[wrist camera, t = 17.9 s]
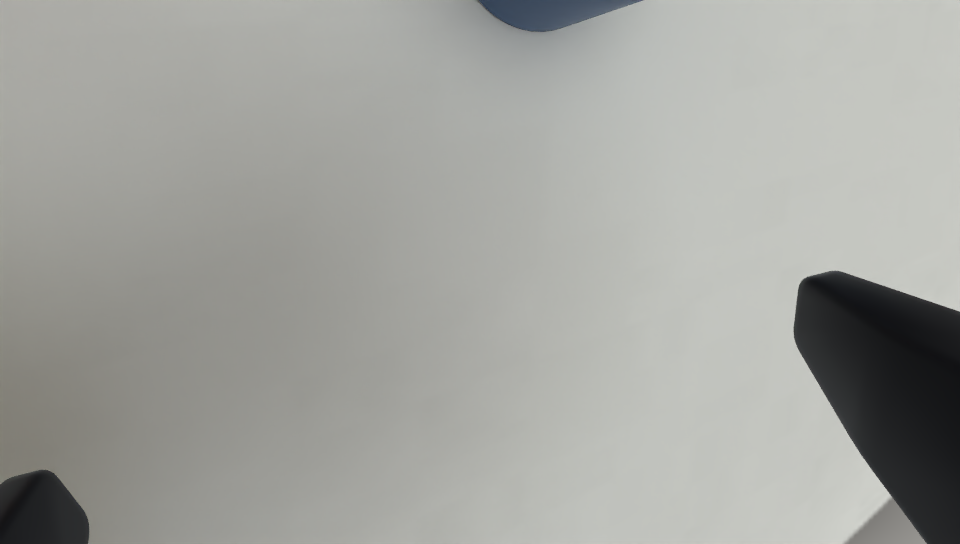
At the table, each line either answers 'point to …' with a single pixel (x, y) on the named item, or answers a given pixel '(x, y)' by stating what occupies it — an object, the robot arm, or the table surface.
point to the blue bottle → (550, 12)
